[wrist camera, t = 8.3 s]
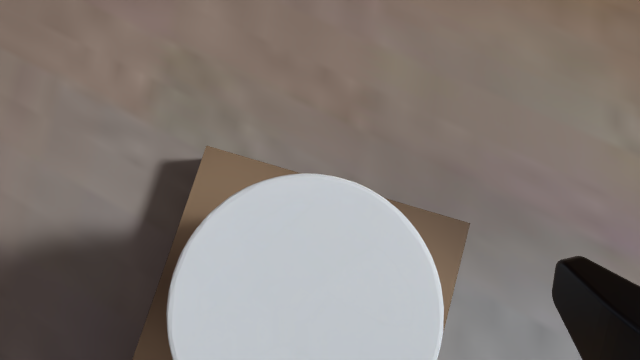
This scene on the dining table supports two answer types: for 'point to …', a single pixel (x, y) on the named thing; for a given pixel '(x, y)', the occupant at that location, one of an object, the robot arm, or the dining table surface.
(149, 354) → the wooden board
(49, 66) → the dining table surface
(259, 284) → the pill bottle
